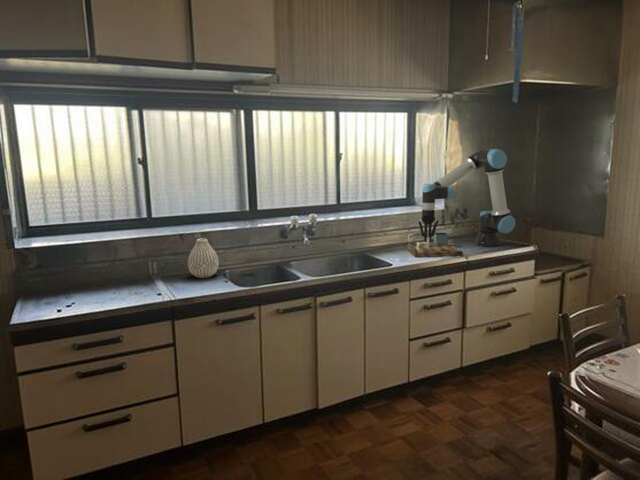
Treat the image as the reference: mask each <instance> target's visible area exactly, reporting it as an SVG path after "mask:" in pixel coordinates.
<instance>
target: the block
mask: <svg viewBox="0 0 640 480" xmlns="http://www.w3.org/2000/svg"><path fill="white" fill-rule="evenodd" d="M416 246H417V251H418V252H423V251H427V243H426V242H424V241H417V242H416Z"/></svg>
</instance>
